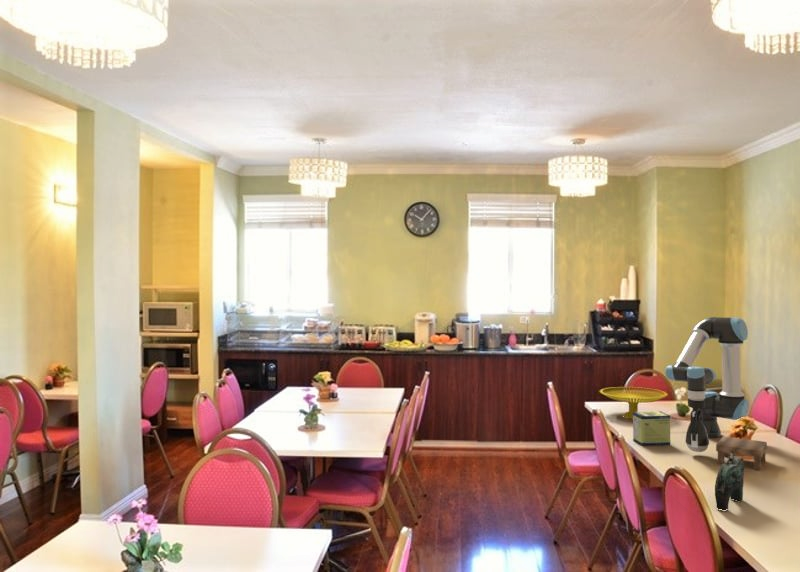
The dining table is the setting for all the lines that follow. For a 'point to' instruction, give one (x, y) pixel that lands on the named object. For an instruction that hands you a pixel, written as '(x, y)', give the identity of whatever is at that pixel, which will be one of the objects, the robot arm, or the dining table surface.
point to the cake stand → (633, 397)
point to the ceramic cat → (729, 481)
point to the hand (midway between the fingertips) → (697, 444)
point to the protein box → (651, 428)
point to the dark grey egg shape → (702, 438)
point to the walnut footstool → (742, 449)
